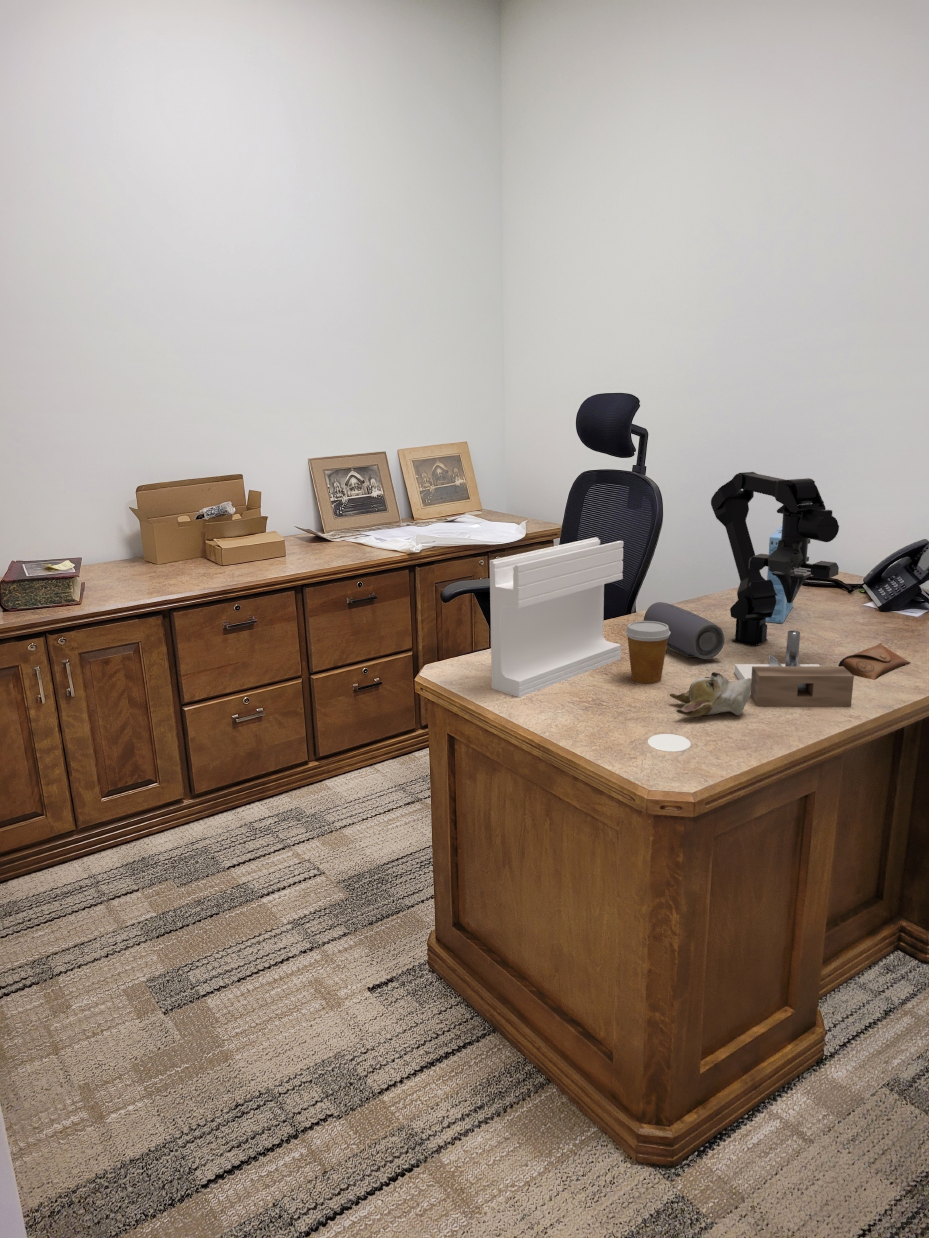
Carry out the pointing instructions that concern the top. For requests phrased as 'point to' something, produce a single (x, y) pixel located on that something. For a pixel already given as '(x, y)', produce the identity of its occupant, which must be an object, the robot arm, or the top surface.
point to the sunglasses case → (873, 662)
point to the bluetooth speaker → (687, 631)
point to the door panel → (746, 669)
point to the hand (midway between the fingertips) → (789, 602)
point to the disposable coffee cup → (647, 650)
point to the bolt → (793, 652)
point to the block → (551, 614)
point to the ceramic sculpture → (714, 696)
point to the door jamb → (783, 682)
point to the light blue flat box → (778, 586)
